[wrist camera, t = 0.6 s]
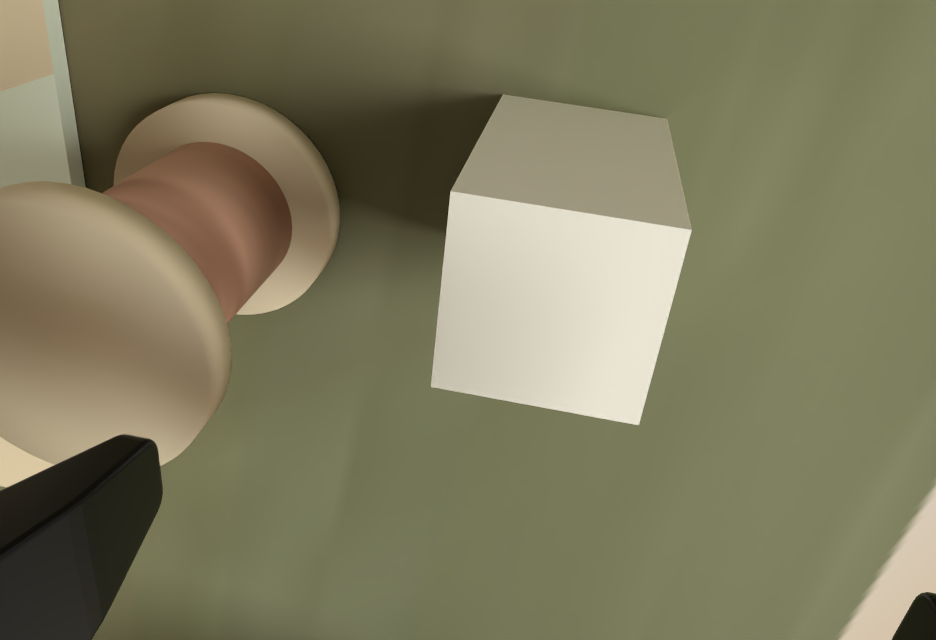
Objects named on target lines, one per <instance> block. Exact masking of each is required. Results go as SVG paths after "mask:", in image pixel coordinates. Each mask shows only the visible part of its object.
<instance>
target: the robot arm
mask: <svg viewBox="0 0 936 640" xmlns="http://www.w3.org/2000/svg"><path fill="white" fill-rule="evenodd" d="M162 494H163V487H162V478H161V470H160V461H159V453H158V447H157V445H156V443H155V442H154V441H153V440H151V439H148V438H143V437H138V436H133V435H128V434H121V435H118V436H115V437H113V438H111V439H109V440H106V441H104V442H102V443H100V444H98V445H96V446H94V447H92V448H89V449H87V450H85V451H83V452H81V453H79V454H77V455H75V456H73V457H70V458H68V459H66V460H64V461H62V462H60V463H58V464H56V465H54V466H51V467H49V468H47V469H45V470H43V471H41V472H39V473H37V474H34V475H32V476H30V477H28V478H26V479H24V480H22V481H20V482H18V483H15V484H13V485H11V486H9V487H7V488H5V489H3V490H1V491H0V640H92V638H93V636H94V635H95V633H96V631H97V630H98V628H99V626H100V625H101V623H102V621H103V620H104V618H105V616H106V614H107V612H108V610H109V608H110V606H111V605H112V603H113V601H114V599H115V597H116V595H117V593H118V591H119V589H120V587H121V585H122V583H123V581H124V579H125V577H126V574H127V572H128V570H129V568H130V566H131V564H132V562H133V560H134V558H135V556H136V554H137V552H138V550H139V548H140V546H141V544H142V542H143V540H144V538H145V536H146V534H147V532H148V530H149V528H150V526H151V524H152V522H153V520H154V518H155V516H156V514H157V512H158V510H159V507H160V504H161V501H162ZM892 640H936V594H935V593H929V592H926V593H921V594H920V595H918V596H917V597H916V598H915V600H914V601H913V603H912V604H911V606H910V608H909V610H908V612H907V613H906V615H905V617H904V619H903V620H902V622H901V624H900V626H899V627H898V629H897V631H896V633H895V634H894V636H893V638H892Z"/></svg>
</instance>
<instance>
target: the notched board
mask: <svg viewBox="0 0 936 640" xmlns="http://www.w3.org/2000/svg"><path fill="white" fill-rule="evenodd" d="M39 181H49V182H58V183H67V184H71V185H76V186H80V187H84V188H86V186H85V180H84V173H83V166H82V159H81V153H80V146H79V139H78V132H77V126H76V119H75V112H74V106H73V99H72V92H71V85H70V79H69V72H68V65H67V58H66V52H65V45H64V38H63V31H62V25H61V18H60V11H59V5H58V0H0V189H1V188H3V187H6V186H9V185H14V184H19V183H24V182H39ZM54 465H55V464H52V463H49V462H46V461H44V460H42V459H39V458H37V457H35V456H33V455H31V454H29V453H27V452H25V451H23V450H21V449H19V448H18V447H16V446H14V445H12V444H10V443H9V442H7V441H6V440H5V439H3V438H2V437H0V486H3V487H9V486H11V485H13V484H15V483H18V482H20V481H22V480H24V479H26V478H28V477H30V476H32V475H34V474H37V473H39V472H41V471H43V470H45V469H47V468H49V467H51V466H54Z"/></svg>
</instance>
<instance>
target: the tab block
mask: <svg viewBox="0 0 936 640" xmlns="http://www.w3.org/2000/svg"><path fill="white" fill-rule="evenodd" d="M691 231H692V229H691V225H690V220H689V216H688V211H687V206H686V202H685V197H684V193H683V188H682V184H681V179H680V175H679V170H678V166H677V161H676V157H675V152H674V148H673V143H672V138H671V134H670V129H669V125H668V120H667V119H665V118H659V117H652V116H645V115H638V114H632V113H625V112H618V111H611V110H605V109H598V108H591V107H585V106H578V105H571V104H564V103H558V102H551V101H544V100H537V99H531V98H524V97H517V96H511V95H504V94H503V95H502V97H501V99H500V101H499V102H498V104H497V106H496V108H495V110H494V112H493V114H492V115H491V117H490V119H489V121H488V123H487V125H486V126H485V128H484V130H483V132H482V134H481V136H480V138H479V139H478V141H477V143H476V145H475V147H474V149H473V151H472V152H471V154H470V156H469V158H468V160H467V162H466V163H465V165H464V167H463V169H462V171H461V173H460V175H459V176H458V178H457V180H456V182H455V184H454V186H453V187H452V189H451V191H450V201H449V211H448V221H447V231H446V241H445V251H444V261H443V271H442V281H441V291H440V301H439V311H438V321H437V331H436V341H435V351H434V361H433V371H432V382H431V387H435V388H440V389H445V390H451V391H456V392H462V393H467V394H473V395H478V396H483V397H489V398H494V399H500V400H505V401H510V402H516V403H521V404H527V405H532V406H538V407H543V408H548V409H554V410H559V411H565V412H570V413H575V414H581V415H586V416H592V417H597V418H603V419H608V420H613V421H619V422H624V423H630V424H635V425H639V422H640V419H641V415H642V411H643V407H644V404H645V400H646V396H647V393H648V389H649V385H650V382H651V378H652V374H653V371H654V367H655V363H656V360H657V356H658V352H659V349H660V345H661V341H662V338H663V334H664V330H665V326H666V323H667V319H668V315H669V312H670V308H671V304H672V301H673V297H674V293H675V290H676V286H677V282H678V279H679V275H680V271H681V268H682V264H683V260H684V257H685V253H686V249H687V245H688V242H689V238H690V234H691Z"/></svg>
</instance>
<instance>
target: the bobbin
mask: <svg viewBox="0 0 936 640" xmlns="http://www.w3.org/2000/svg"><path fill="white" fill-rule="evenodd" d="M339 229H340V205H339V199H338V194H337V190H336V187H335V183H334V180H333V178H332V175H331V173H330V171H329V169H328V166H327V164H326V163H325V161H324V159H323V158H322V156H321V154H320V153H319V151H318V150H317V149H316V147H315V146H314V145H313V143H312V142H311V141H310V139H309V138H308V137H307V136H306V135H305V134H304V133H303V132H302V131H301V130H300V129H299V128H298V127H297V126H296V125H294V124H293V123H292V122H291V121H290V120H288V119H287V118H286V117H284V116H283V115H281V114H280V113H278V112H277V111H275V110H274V109H272V108H270V107H268V106H266V105H264V104H262V103H260V102H257V101H254V100H252V99H249V98H246V97H242V96H238V95H233V94H225V93H204V94H198V95H194V96H189V97H186V98H184V99H181V100H179V101H176V102H174V103H172V104H170V105H168V106H166V107H164V108H162V109H160V110H158V111H156V112H154V113H153V114H151V115H149V116H148V117H146V118H145V119H144V120H143V121H141V122H140V123H139V124H138V125H137V126H136V127H135V128H134V129H133V130H132V132H131V133H130V134H129V135H128V137H127V138H126V140H125V142H124V144H123V145H122V147H121V150H120V152H119V155H118V158H117V162H116V166H115V171H114V186H113V187H111V188H109V189H108V190H106V191H104V192H103V193H99V192H96V191H93V190H91V189H88V188H84V187H80V186H76V185H71V184H67V183H58V182H49V181H39V182H24V183H19V184H14V185H9V186H6V187H3V188H1V189H0V437H2V438H3V439H5V440H6V441H7V442H9V443H10V444H12V445H14V446H16V447H18V448H19V449H21V450H23V451H25V452H27V453H29V454H31V455H33V456H35V457H37V458H39V459H42V460H44V461H46V462H49V463H52V464H55V465H56V464H58V463H60V462H62V461H64V460H66V459H68V458H70V457H73V456H75V455H77V454H79V453H81V452H83V451H85V450H87V449H89V448H92V447H94V446H96V445H98V444H100V443H102V442H104V441H106V440H109V439H111V438H113V437H115V436H118V435H121V434H128V435H133V436H138V437H143V438H148V439H151V440H153V441H154V442H155V443H156V445H157V447H158V453H159V461H160V466H161V465H163V464H165V463H167V462H169V461H170V460H172V459H174V458H175V457H176V456H178V455H179V454H180V453H181V452H183V451H184V450H185V449H186V448H187V447H188V445H189V444H190V443H191V442H192V441H193V440H194V438H195V437H196V436H197V434H198V433H199V432H200V430H201V429H202V428H203V427H204V425H205V424H206V423H207V421H208V420H209V419H210V417H211V416H212V415H213V413H214V412H215V411H216V409H217V408H218V406H219V404H220V403H221V401H222V399H223V397H224V395H225V392H226V390H227V387H228V384H229V380H230V374H231V368H232V348H231V341H230V334H229V330H228V326H227V323H228V322H229V321H230V320H231V319H232V318H233V317H234V316H235V314H238V315H252V314H260V313H266V312H270V311H273V310H277V309H279V308H281V307H284V306H286V305H288V304H289V303H291V302H293V301H294V300H296V299H297V298H298V297H300V296H301V295H302V294H303V293H304V292H305V291H306V290H307V289H308V288H309V287H310V286H311V284H312V283H313V282H314V281H315V280H316V278H317V277H318V276H319V274H320V273H321V272H322V270H323V269H324V268H325V266H326V265H327V263H328V261H329V260H330V258H331V256H332V254H333V252H334V249H335V247H336V244H337V240H338V235H339Z"/></svg>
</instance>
